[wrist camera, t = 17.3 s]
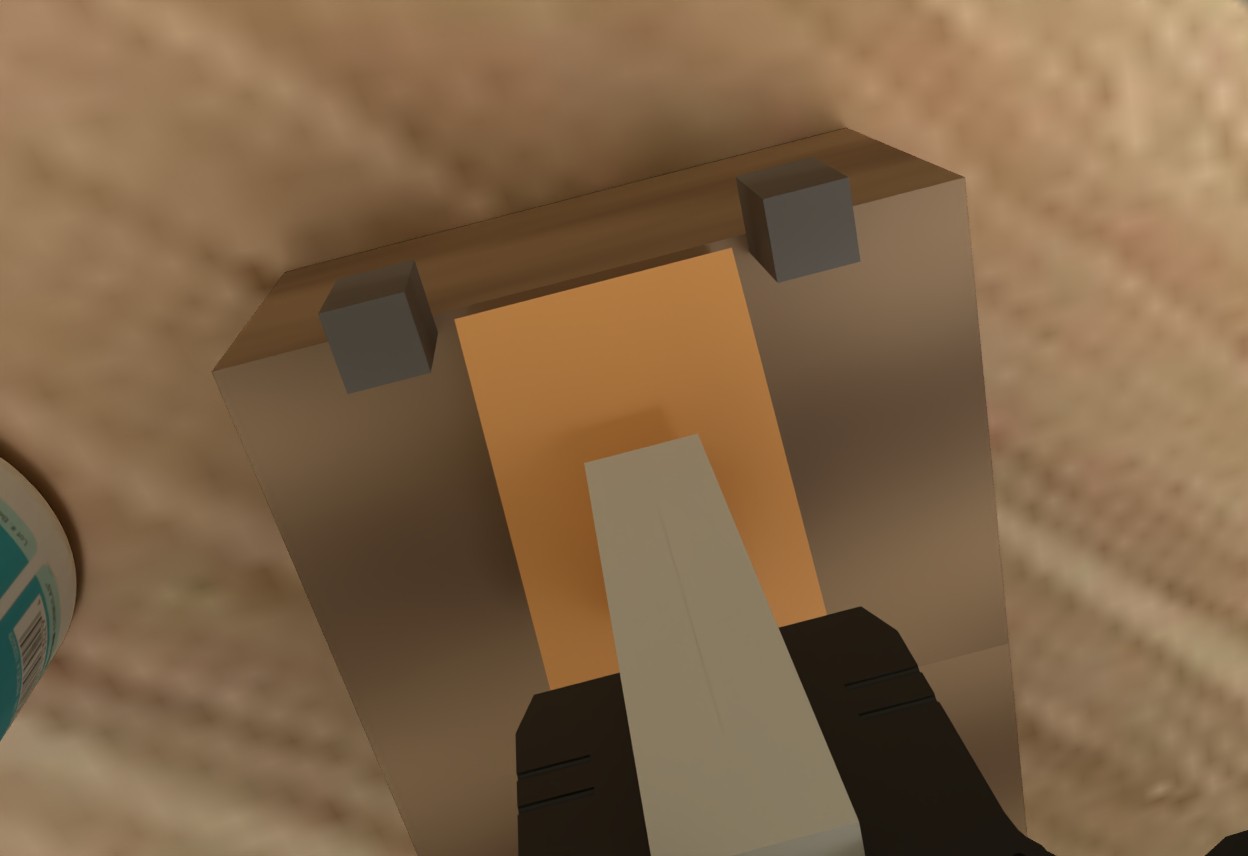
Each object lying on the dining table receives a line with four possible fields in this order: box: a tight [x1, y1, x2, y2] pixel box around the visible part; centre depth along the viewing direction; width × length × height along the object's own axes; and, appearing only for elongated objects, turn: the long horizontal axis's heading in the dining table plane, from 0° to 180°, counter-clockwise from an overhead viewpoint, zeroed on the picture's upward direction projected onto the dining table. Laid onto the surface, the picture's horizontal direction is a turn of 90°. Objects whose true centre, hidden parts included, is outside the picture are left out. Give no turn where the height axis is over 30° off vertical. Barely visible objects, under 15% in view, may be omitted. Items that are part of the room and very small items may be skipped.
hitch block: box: [212, 128, 1027, 856], centre depth 21 cm, size 17×12×8 cm
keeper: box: [454, 248, 827, 690], centre depth 15 cm, size 6×4×1 cm, turn 14°
